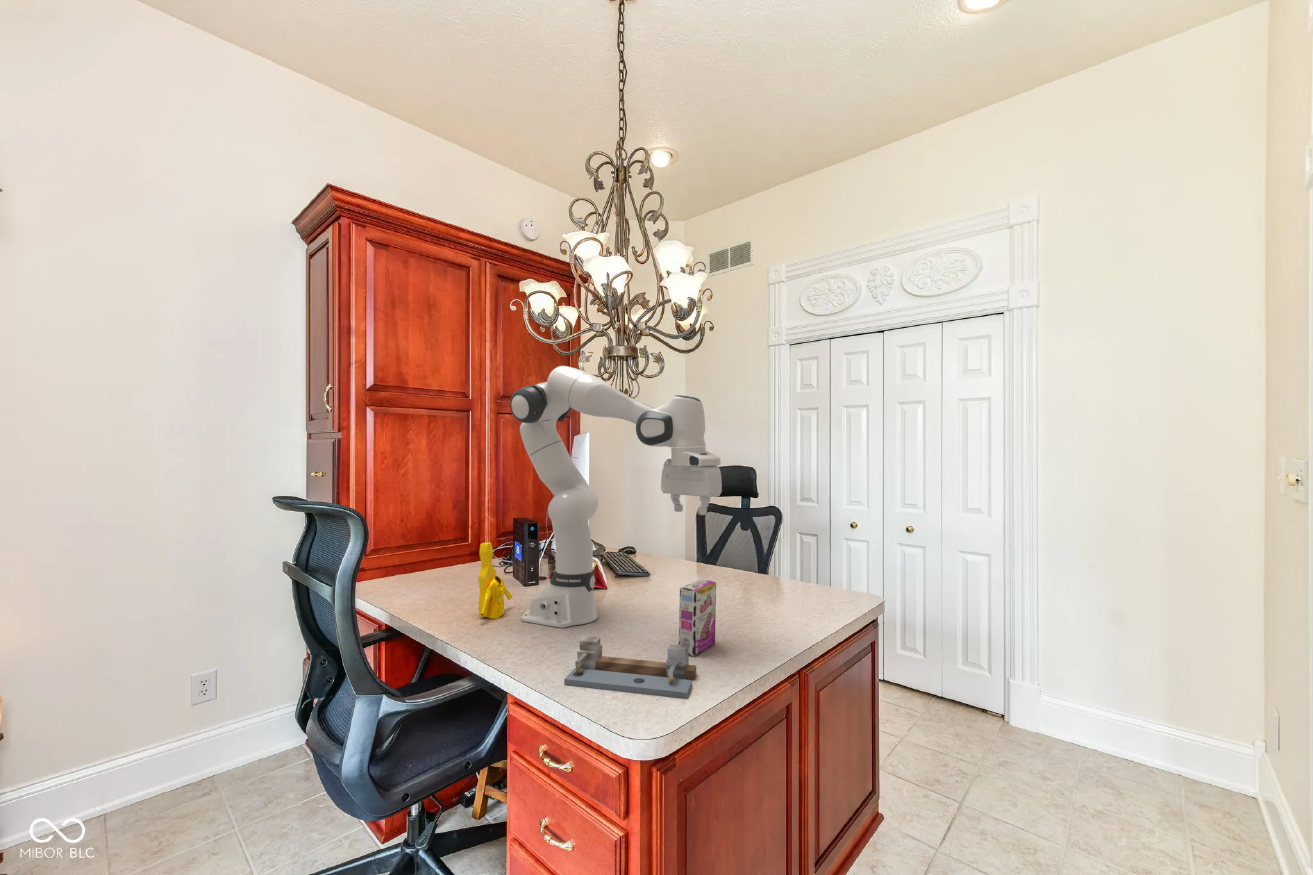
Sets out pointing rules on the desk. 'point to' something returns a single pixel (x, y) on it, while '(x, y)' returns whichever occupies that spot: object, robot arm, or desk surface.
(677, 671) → the sliding jaw
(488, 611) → the figure statuette
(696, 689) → the desk surface
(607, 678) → the flange plate
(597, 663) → the rail
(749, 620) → the desk surface
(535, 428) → the robot arm
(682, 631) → the candy bar box
